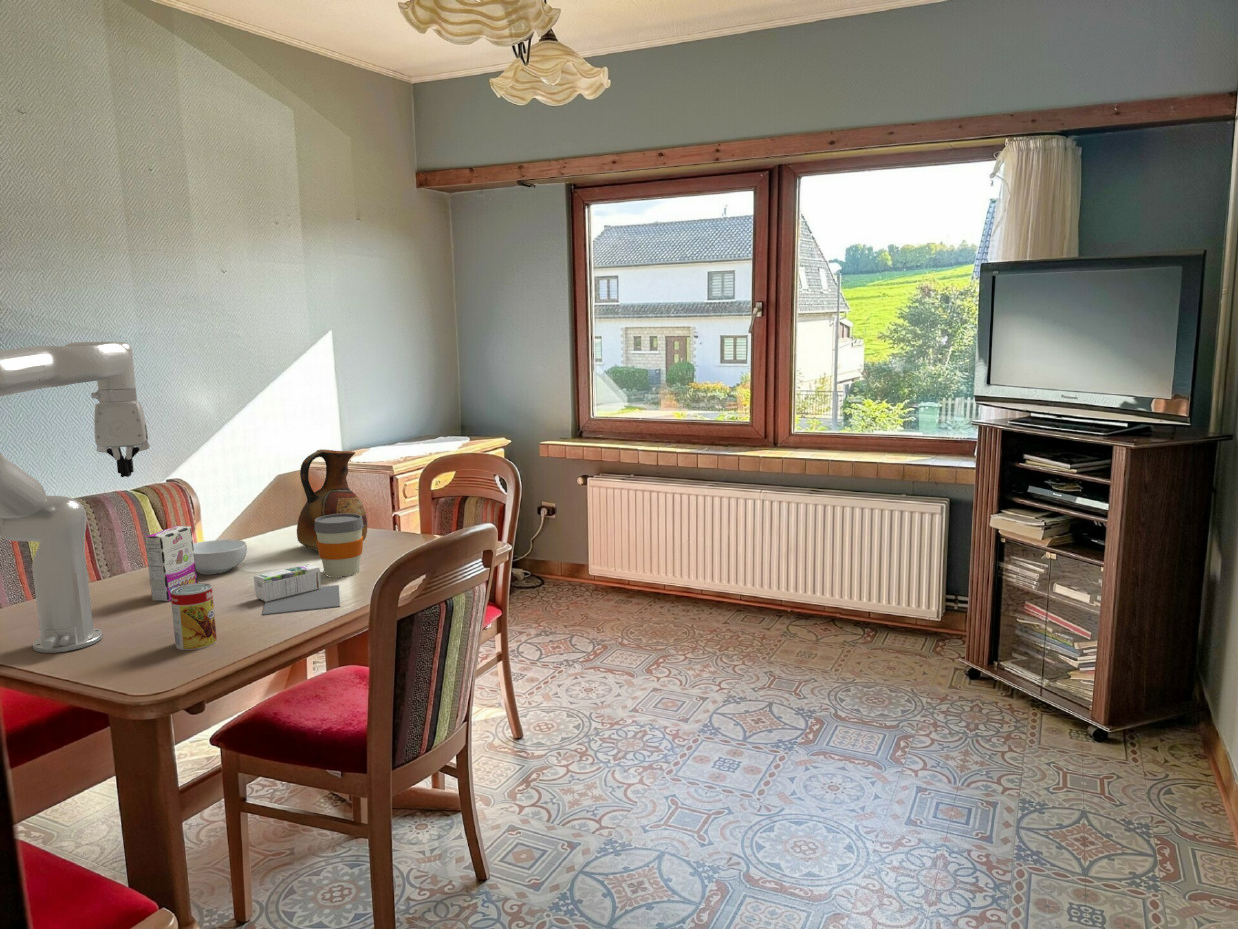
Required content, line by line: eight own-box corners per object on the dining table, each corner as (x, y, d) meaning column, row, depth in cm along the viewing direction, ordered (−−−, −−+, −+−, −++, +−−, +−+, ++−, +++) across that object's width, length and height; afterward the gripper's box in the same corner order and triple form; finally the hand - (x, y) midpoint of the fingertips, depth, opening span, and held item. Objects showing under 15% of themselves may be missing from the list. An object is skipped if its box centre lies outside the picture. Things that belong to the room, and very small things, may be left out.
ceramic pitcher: (380, 547, 264) (374, 448, 260) (316, 560, 251) (308, 456, 246) (349, 537, 279) (343, 443, 274) (287, 548, 265) (279, 450, 260)
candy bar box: (181, 588, 226) (175, 525, 224) (198, 588, 225) (192, 526, 223) (150, 601, 215) (143, 535, 213) (168, 602, 214) (161, 536, 212)
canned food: (223, 642, 186) (218, 587, 184) (185, 653, 180) (180, 596, 178) (206, 634, 191) (201, 580, 189) (169, 644, 185) (163, 589, 183)
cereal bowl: (254, 572, 240) (252, 547, 239) (187, 583, 231) (185, 556, 229) (241, 559, 254) (238, 535, 253) (177, 569, 244) (174, 544, 243)
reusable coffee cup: (357, 579, 232) (354, 523, 229) (310, 579, 232) (306, 523, 230) (372, 566, 244) (369, 513, 242) (327, 566, 244) (323, 513, 242)
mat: (339, 606, 209) (339, 605, 209) (262, 615, 203) (262, 613, 203) (338, 586, 226) (338, 584, 225) (267, 593, 220) (267, 592, 220)
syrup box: (253, 575, 215) (308, 562, 225) (255, 598, 216) (310, 584, 226) (263, 579, 211) (320, 566, 221) (266, 603, 212) (322, 588, 222)
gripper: (76, 399, 195) (85, 481, 198) (151, 396, 200) (159, 476, 203) (85, 396, 202) (93, 475, 205) (157, 394, 207) (164, 471, 210)
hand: (126, 475), depth 204 cm, fingers closed
